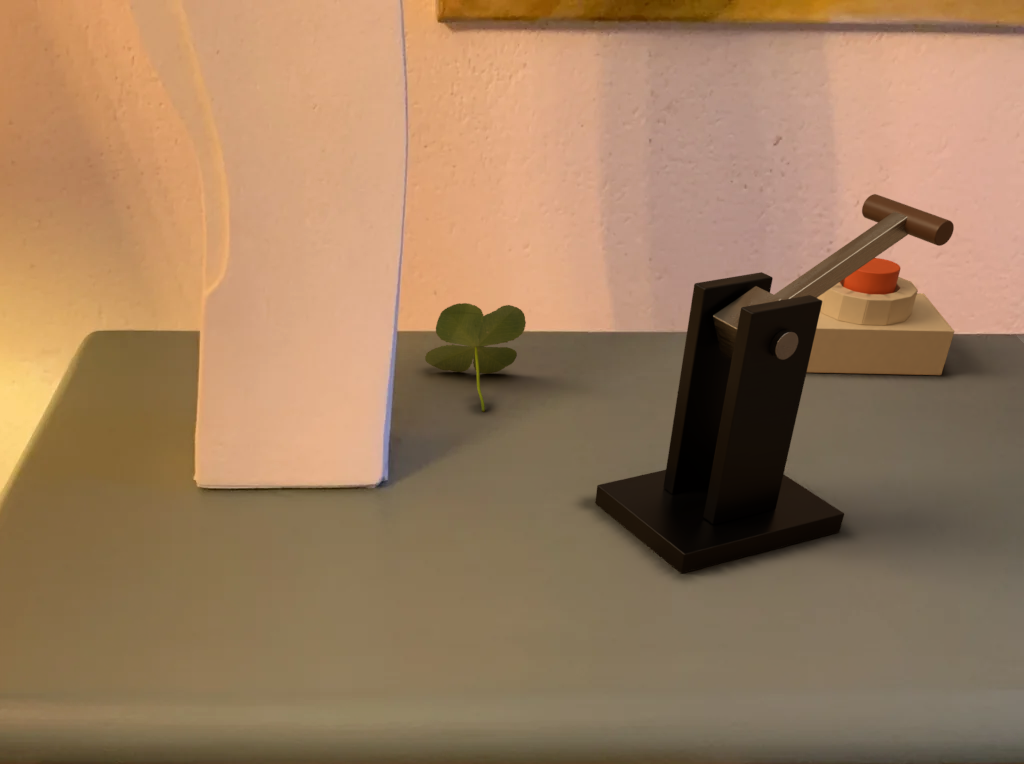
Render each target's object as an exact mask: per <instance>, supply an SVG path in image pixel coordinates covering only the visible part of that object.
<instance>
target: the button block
mask: <svg viewBox="0 0 1024 764" xmlns="http://www.w3.org/2000/svg"><path fill="white" fill-rule="evenodd" d="M844 281H845V279H843V280H842V281H840V282H839V283H838V284H836V285H835V286H833V287H832V288H830V289H829V290H827V291H826V292H825V293H823V294H822V295H820V296H819V297H817V298H818V299H820V300H822V306H821V310H820V315H819V319H818V324H817V328H816V333H815V337H814V341H813V346H812V350H811V355H810V359H809V364H808V368H807V372H806V373H814V374H815V373H816V374H817V373H819V374H820V373H821V374H824V373H825V374H865V375H867V374H869V375H906V376H907V375H910V376H911V375H913V376H915V375H916V376H942V374H943V372H944V371H943V370H944V367H945V364H946V361H947V358H948V354H949V351H950V348H951V345H952V341H953V339H954V335H955V330H954V329H953V327H952V326H951V325H950V323H948V321H947V320H946V319H945V318H944V316H943V315H942V314H941V313H940V312H939V310H938V309H937V308H936V306H935V305H934V304H933V303H932V302H931V300H930V299H929V298H928V297H927V296H926V294H925V293H919V292H918V291H919V289H918V288H917V286H916V285H914V283H913V282H912V281H911V280H909V279H906V278H903V277H901V276H898V280H897V284H896V288H895V292H894V293H890V294H885V295H883V294H865V293H860V292H855V291H852V290H849V289H847V288H845V287H843V285H844Z"/></svg>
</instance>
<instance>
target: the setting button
mask: <svg viewBox="0 0 1024 764" xmlns="http://www.w3.org/2000/svg"><path fill="white" fill-rule="evenodd" d="M900 272H901V266H900V264H898V262H897V263H896V262H894V261H892V260H889V259H884V258H880V257H875V258H874V259H872V260H871V261H869V262H868V263H866V264H865V265H864V266H862V267H861V268H859V269H858V270H856V271H855V272H853V273H852V274H851V275H849V276H848V277H846V278H845V281H844V285H843V287H845V288H847V289H849V290H852V291H855V292H860V293H865V294H883V295H885V294H890V293H894V292H895V288H896V284H897V280H898V277H900Z"/></svg>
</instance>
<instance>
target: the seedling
mask: <svg viewBox="0 0 1024 764" xmlns="http://www.w3.org/2000/svg"><path fill="white" fill-rule="evenodd" d="M526 325H527V321H526V315H525V313H524V311H523V310H522V309H520V308H519V307H517V306H514V305H511V304H505V305H501V306H499V307H498V308H496V309H495V310H493V311H492V312H490V313H486V314H483V311H482V308H480V307H478V306H477V305H476V304H472V303H466V302H463V303H461V302H460V303H456V304H455V303H454V304H452V305H450V306H447V307H446V308H444V309H443V310H442V311H441V312H440V314H439V315H438V319H437V322H436V326H435V334H436V335H437V337H438V338H439V339H440V340H441V341H443V342H445V343H449V344H446V345H440V346H438V347H435V348H433V349H431V350H429V351H427V352H426V353H425V356H424V360H425V362H426V363H427V364H428V365H430V366H431V367H434V368H436V369H438V370H441V371H450V372H453V373H463V372H466V371H468V370H469V369H470V368H471V366H472V364H473V368H474V371H475V372H476V389H477V394H478V397H479V400H480V407H481V413H482V412H483V413H484V412H486V405H485V400H484V397H483V393H482V390H481V377H480V376H481V374H483V375H484V374H487V375H488V374H494V373H498V372H500V371H502V370H503V369H505V368H508V367H509V366H511V365H512V364H513V363H514V362H515V361H516V359H517V357H518V353H517V351H516V349H513V348H511V347H507V346H504V347H503V346H500V347H498V346H493V345H499V344H504V343H505V344H506V343H508V342H511V341H514V340H516V339H518V338H519V337H520V336H521V335H523V333H524V332H525V329H526Z"/></svg>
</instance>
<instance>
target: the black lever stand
mask: <svg viewBox="0 0 1024 764" xmlns="http://www.w3.org/2000/svg"><path fill="white" fill-rule="evenodd" d="M772 285H773V276H771V275H769V274H767V273H765V272H763V271H761V272H753V273H749V274H742V275H735V276H730V277H725V278H717V279H713V280H706V281H701V282H694V285H693V290H692V297H691V303H690V310H689V317H688V323H687V324H688V325H687V329H686V336H685V344H684V349H683V355H682V362H681V369H680V375H679V381H678V387H677V395H676V400H675V401H676V402H675V408H674V416H673V421H672V428H671V436H670V440H669V441H670V442H669V447H668V454H667V459H666V460H667V461H666V467H665V469H663V470H657V471H653V472H649V473H645V474H640V475H636V476H632V477H627V478H623V479H620V480H614V481H609V482H605V483H601V484H597V485H596V493H595V505H597V506H598V507H600V508H601V509H602V510H603V511H604V512H605V513H607V515H609V516H610V517H612V518H613V519H614V520H615V521H617V522H618V524H620V525H621V526H623V527H624V528H625V529H626V530H628V531H629V532H630V533H631V534H632V535H634V536H635V537H636V538H637V539H639V540H640V541H641V542H642V543H644V544H645V545H646V546H647V547H648V548H649V549H651V550H652V551H653V552H654V553H656V554H657V555H658V556H660V558H662V559H663V560H664V561H665V562H667V563H668V564H669V565H670V566H672V567H673V568H674V569H676V570H677V571H678V572H679V573H680V574H684V573H688V572H693V571H695V570H700V569H704V568H706V567H710V566H711V567H712V566H714V565H719V564H723V563H726V562H730V561H734V560H739V559H742V558H745V557H749V556H752V555H756V554H760V553H764V552H769V551H772V550H775V549H780V548H783V547H787V546H791V545H794V544H799V543H802V542H807V541H810V540H813V539H814V540H815V539H818V538H821V537H826V536H829V535H832V534H836V533H840V532H841V528H842V524H843V519H844V516H845V512H843V511H841V510H840V509H838V508H836V507H835V506H834V505H832V504H830V503H829V502H827V501H826V500H824V499H822V498H821V497H819V496H818V495H817V494H815V493H813V492H812V491H810V490H808V489H807V488H806V487H804V486H803V485H801V484H799V482H797V481H795V480H793V479H792V478H790V477H788V476H787V475H786V474H785V469H786V465H787V460H788V457H789V452H790V448H791V443H792V439H793V434H794V429H795V425H796V422H797V416H798V412H799V408H800V403H801V399H802V394H803V391H804V385H805V381H806V377H807V373H808V372H807V368H808V364H809V359H810V355H811V350H812V346H813V341H814V337H815V333H816V328H817V324H818V319H819V315H820V310H821V306H822V300H820V299H818V298H816V297H814V296H811V295H808V296H802V297H797V298H791V299H785V300H780V301H774V302H768V303H763V304H757V305H751V306H746V307H742V308H741V311H740V316H739V322H738V327H737V333H736V338H735V344H734V349H733V355H732V360H731V359H729V358H727V357H726V356H724V355H722V354H721V351H720V346H719V342H718V337H717V333H716V329H715V324H714V320H713V315H715V314H716V313H718V312H719V311H720V310H722V309H723V308H725V307H726V306H728V305H729V304H731V303H732V302H733V301H735V300H736V299H738V298H739V297H741V296H742V295H744V294H745V293H746V292H748V291H749V290H751V289H752V288H754V287H755V286H757V287H759V288H761V289H763V290H765V291H767V292H769V293H771V289H772Z"/></svg>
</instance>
